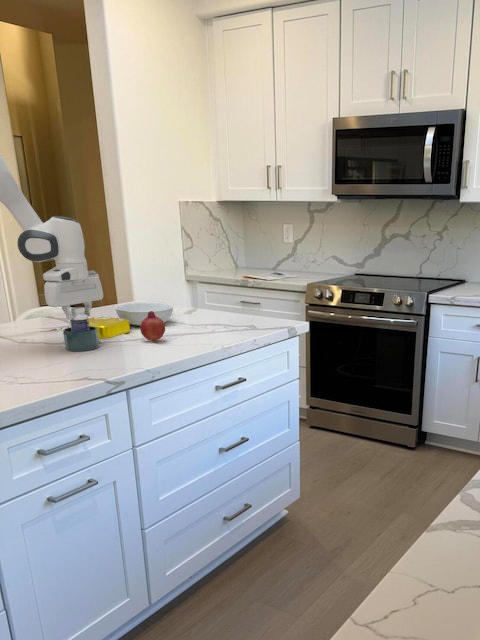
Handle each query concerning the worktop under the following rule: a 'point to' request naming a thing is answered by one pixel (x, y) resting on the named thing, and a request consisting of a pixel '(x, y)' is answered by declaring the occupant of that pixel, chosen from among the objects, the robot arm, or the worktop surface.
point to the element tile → (109, 326)
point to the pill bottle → (79, 320)
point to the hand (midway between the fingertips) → (78, 318)
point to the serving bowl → (143, 311)
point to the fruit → (152, 327)
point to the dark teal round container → (81, 339)
